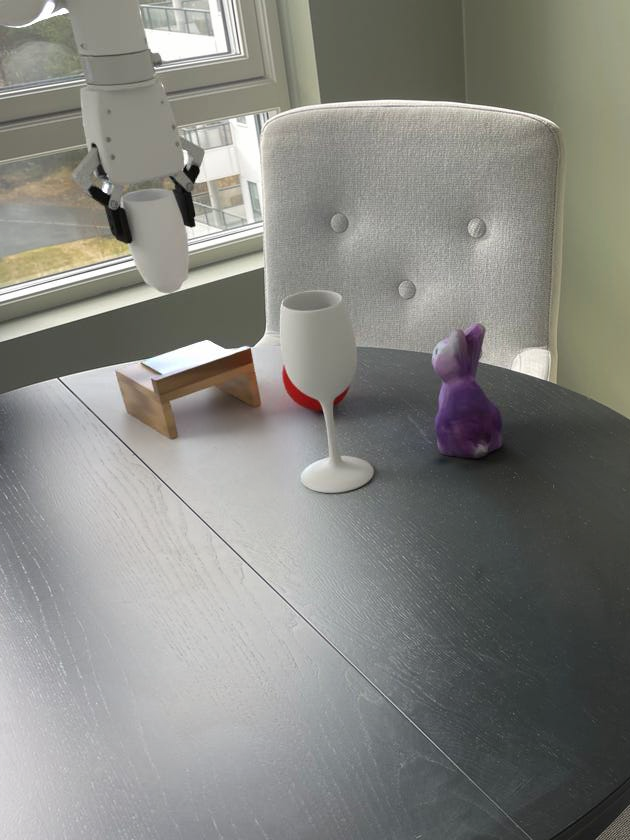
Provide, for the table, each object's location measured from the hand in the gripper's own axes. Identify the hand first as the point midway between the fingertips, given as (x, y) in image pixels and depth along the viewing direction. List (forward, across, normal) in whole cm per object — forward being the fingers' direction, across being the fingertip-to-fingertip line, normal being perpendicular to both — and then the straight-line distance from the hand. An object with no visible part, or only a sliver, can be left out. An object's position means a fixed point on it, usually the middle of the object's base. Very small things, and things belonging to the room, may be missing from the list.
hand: (156, 232), depth 119 cm
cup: (+17, 0, 0) cm, 17 cm away
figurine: (+23, -17, +36) cm, 46 cm away
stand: (+23, +1, +1) cm, 23 cm away
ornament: (+23, -11, +14) cm, 29 cm away
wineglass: (+23, -1, +31) cm, 38 cm away
